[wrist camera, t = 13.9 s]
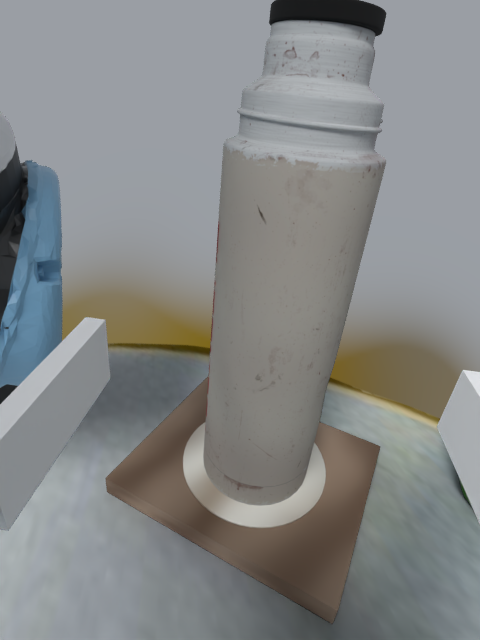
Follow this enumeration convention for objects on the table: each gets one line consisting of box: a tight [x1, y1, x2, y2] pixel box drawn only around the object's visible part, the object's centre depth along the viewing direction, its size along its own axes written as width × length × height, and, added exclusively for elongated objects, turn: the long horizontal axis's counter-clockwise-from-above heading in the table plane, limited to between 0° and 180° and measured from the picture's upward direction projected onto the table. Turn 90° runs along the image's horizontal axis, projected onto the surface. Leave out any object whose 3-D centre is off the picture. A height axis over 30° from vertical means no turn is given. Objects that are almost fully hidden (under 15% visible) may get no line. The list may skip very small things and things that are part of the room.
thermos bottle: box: [203, 0, 386, 506], centre depth 24 cm, size 8×8×28 cm
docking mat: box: [106, 377, 380, 624], centre depth 31 cm, size 17×14×2 cm
